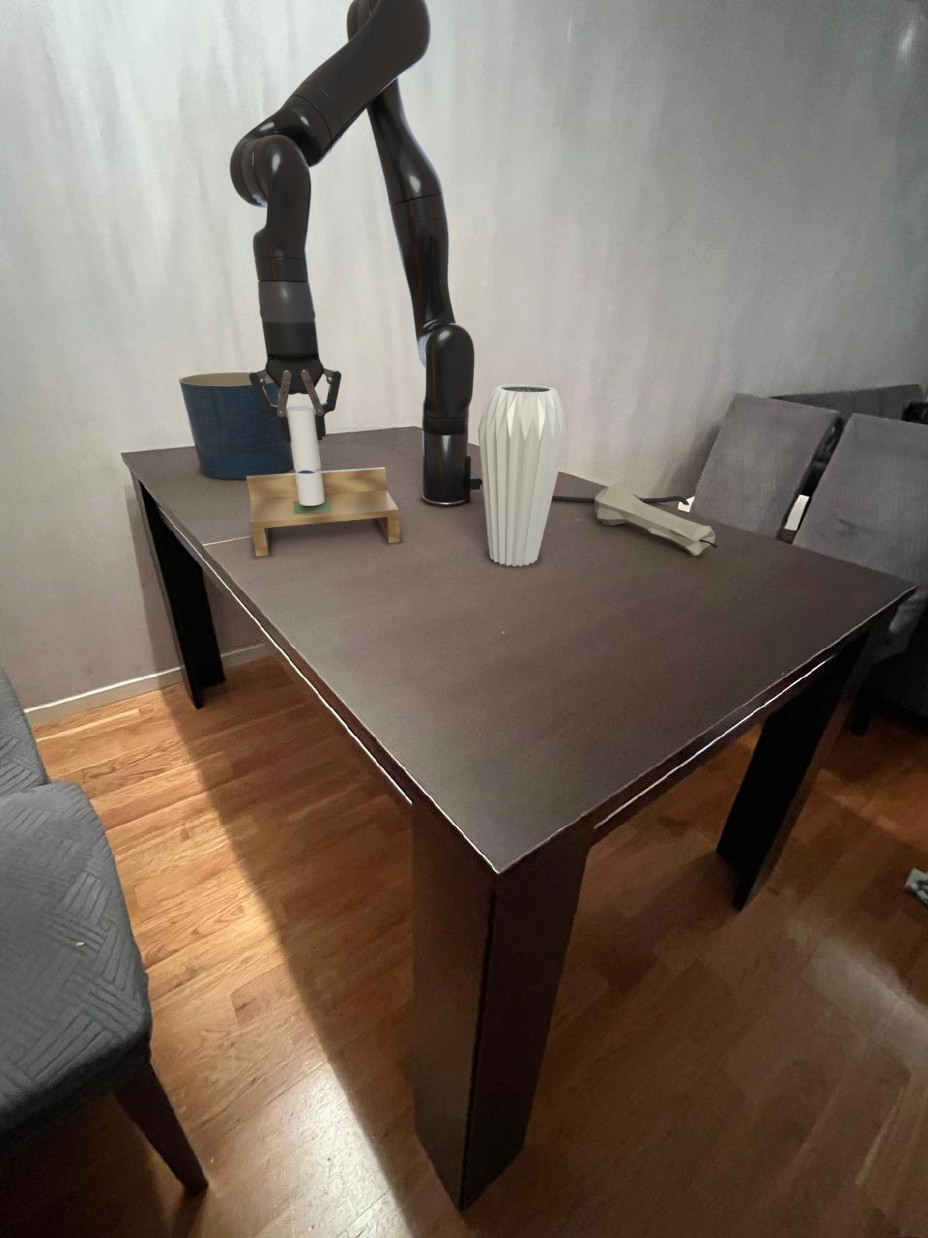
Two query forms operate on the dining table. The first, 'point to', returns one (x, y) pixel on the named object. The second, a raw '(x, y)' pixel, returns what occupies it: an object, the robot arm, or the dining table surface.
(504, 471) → the vase
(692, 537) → the faceted club
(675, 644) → the dining table surface
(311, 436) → the tube
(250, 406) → the planter
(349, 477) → the shelf
